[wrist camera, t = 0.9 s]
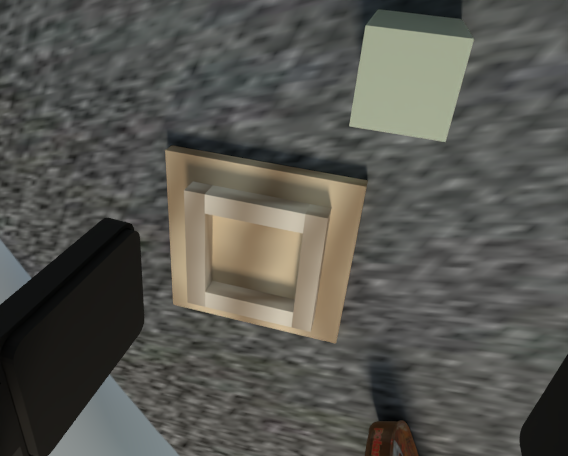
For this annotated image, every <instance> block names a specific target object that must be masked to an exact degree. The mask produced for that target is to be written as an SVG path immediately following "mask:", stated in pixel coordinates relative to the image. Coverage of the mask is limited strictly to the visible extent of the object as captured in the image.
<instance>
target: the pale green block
mask: <svg viewBox="0 0 568 456" xmlns="http://www.w3.org/2000/svg"><path fill="white" fill-rule="evenodd" d="M473 41H474V38H473V36H472V35H471V33H470V32H469V30H468V28H467V27H466V25H465V24H464V22H463V20H462V19H457V18H448V17H440V16H432V15H423V14H415V13H406V12H398V11H390V10H381V9H378V10H377V11H376V12H375V14H374V15H373V16H372V18H371V19H370V20H369V22H368V23H367V24H366V26H365V32H364V38H363V44H362V51H361V57H360V63H359V69H358V75H357V82H356V88H355V94H354V100H353V106H352V112H351V119H350V125H349V126H351V127H357V128H363V129H369V130H376V131H382V132H388V133H394V134H400V135H406V136H412V137H419V138H425V139H431V140H437V141H443V142H446V138H447V134H448V131H449V127H450V124H451V120H452V116H453V113H454V109H455V106H456V102H457V98H458V95H459V91H460V88H461V84H462V80H463V77H464V73H465V70H466V66H467V62H468V59H469V55H470V52H471V48H472V44H473Z"/></svg>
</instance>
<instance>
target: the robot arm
mask: <svg viewBox="0 0 568 456" xmlns="http://www.w3.org/2000/svg"><path fill="white" fill-rule="evenodd" d="M143 324H144V304H143V285H142V267H141V249H140V236H139V233H138V232H137V231H134V227H133V226H132V224H130V223H127V222H123V221H119V220H115V219H111V218H104V219H103V220H101V221H100V222H99V223H98V224H96V225H95V226H94V227H93V228H92V229H90V230H89V231H88V232H87V233H86V234H84V235H83V236H82V237H81V238H80V239H78V240H77V241H76V242H75V243H74V244H72V245H71V246H70V247H69V248H68V249H66V250H65V251H64V252H63V253H62V254H60V255H59V256H58V257H57V258H56V259H54V260H53V261H52V262H51V263H50V264H49V265H47V266H46V267H45V268H44V269H43V270H41V271H40V272H39V273H38V274H37V275H35V276H34V277H33V278H32V279H31V280H29V281H28V282H27V283H26V284H25V285H23V286H22V287H21V288H20V289H19V290H18V291H16V292H15V293H14V294H13V295H11V296H10V297H9V298H8V299H7V300H5V301H4V302H3V303H2V304H1V305H0V456H48V455H49V454H50V453H51V452H52V450H53V449H54V448H55V447H56V445H57V444H58V443H59V441H60V440H61V439H62V437H63V435H64V434H65V433H66V432H67V430H68V429H69V428H70V426H71V425H72V424H73V422H74V421H75V420H76V418H77V417H78V415H79V414H80V413H81V412H82V410H83V409H84V408H85V406H86V405H87V404H88V402H89V401H90V400H91V398H92V397H93V396H94V394H95V393H96V392H97V390H98V389H99V387H100V386H101V385H102V383H103V382H104V381H105V379H106V378H107V377H108V375H109V374H110V373H111V371H112V370H113V369H114V367H115V366H116V365H117V363H118V362H119V361H120V359H121V358H122V357H123V355H124V354H125V353H126V351H127V350H128V349H129V347H130V346H131V344H132V343H133V342H134V340H135V339H136V338H137V336H138V335H139V334H140V332H141V330H142V327H143ZM520 448H521V453H522V456H568V355H567V356H566V358H565V359H564V361H563V363H562V364H561V366H560V367H559V369H558V371H557V372H556V374H555V375H554V377H553V378H552V380H551V382H550V383H549V385H548V386H547V388H546V390H545V391H544V393H543V394H542V396H541V397H540V399H539V401H538V402H537V404H536V405H535V407H534V409H533V410H532V412H531V413H530V415H529V417H528V418H527V420H526V421H525V423H524V424H523V426H522V429H521V432H520Z"/></svg>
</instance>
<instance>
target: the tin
mask: <svg viewBox="0 0 568 456" xmlns="http://www.w3.org/2000/svg"><path fill="white" fill-rule="evenodd" d="M365 456H419V455H418V452H417V449H416V446H415V443H414V440H413V437H412V434H411V432H410V429H409V427H408V425H407V423H406V422H405V421H403V420H399V421H377V422H374V423H373V424H372V425H371V426H370V428H369V435H368V440H367V445H366V451H365Z"/></svg>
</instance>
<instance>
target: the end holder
mask: <svg viewBox="0 0 568 456" xmlns="http://www.w3.org/2000/svg"><path fill="white" fill-rule="evenodd" d="M165 153H166V172H167V191H168V210H169V229H170V248H171V268H172V287H173V304H174V305H178V306H182V307H186V308H190V309H194V310H199V311H203V312H207V313H211V314H215V315H219V316H224V317H228V318H232V319H236V320H240V321H244V322H249V323H253V324H257V325H261V326H265V327H269V328H274V329H278V330H282V331H286V332H290V333H294V334H299V335H303V336H307V337H311V338H315V339H319V340H324V341H328V342H332V343H336V340H337V336H338V331H339V325H340V320H341V315H342V310H343V305H344V300H345V295H346V290H347V284H348V279H349V274H350V269H351V264H352V259H353V254H354V249H355V244H356V238H357V233H358V228H359V223H360V218H361V213H362V208H363V203H364V198H365V192H366V187H367V182H368V180H362V179H357V178H351V177H345V176H340V175H334V174H329V173H323V172H318V171H312V170H306V169H301V168H295V167H290V166H284V165H279V164H273V163H268V162H262V161H256V160H251V159H245V158H240V157H234V156H229V155H223V154H218V153H212V152H206V151H201V150H195V149H190V148H184V147H179V146H173V145H171V146H170V147H169V148H168V149H166V150H165Z"/></svg>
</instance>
